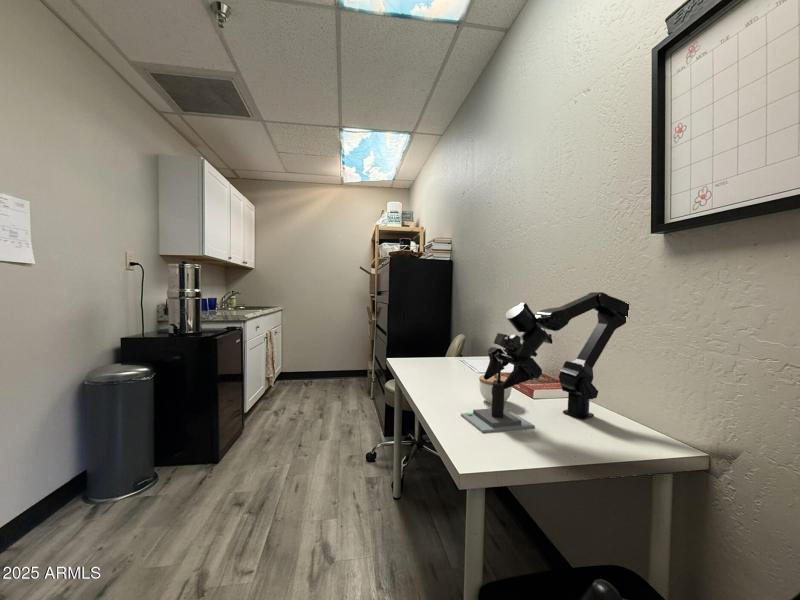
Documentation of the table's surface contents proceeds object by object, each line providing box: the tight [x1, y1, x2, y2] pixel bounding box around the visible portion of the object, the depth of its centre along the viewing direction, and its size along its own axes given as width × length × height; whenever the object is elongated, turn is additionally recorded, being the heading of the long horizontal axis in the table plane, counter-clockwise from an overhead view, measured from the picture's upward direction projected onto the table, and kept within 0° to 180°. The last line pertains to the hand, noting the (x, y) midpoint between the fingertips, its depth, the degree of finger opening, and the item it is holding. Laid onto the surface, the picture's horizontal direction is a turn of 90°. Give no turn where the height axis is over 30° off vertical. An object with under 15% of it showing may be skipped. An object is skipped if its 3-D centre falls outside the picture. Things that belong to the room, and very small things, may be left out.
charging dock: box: [460, 407, 536, 433], centre depth 91 cm, size 16×12×2 cm
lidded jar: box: [478, 373, 513, 404], centre depth 109 cm, size 11×11×9 cm
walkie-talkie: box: [491, 361, 505, 418], centre depth 91 cm, size 5×3×15 cm
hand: (493, 383), depth 91 cm, fingers open, 9 cm apart
